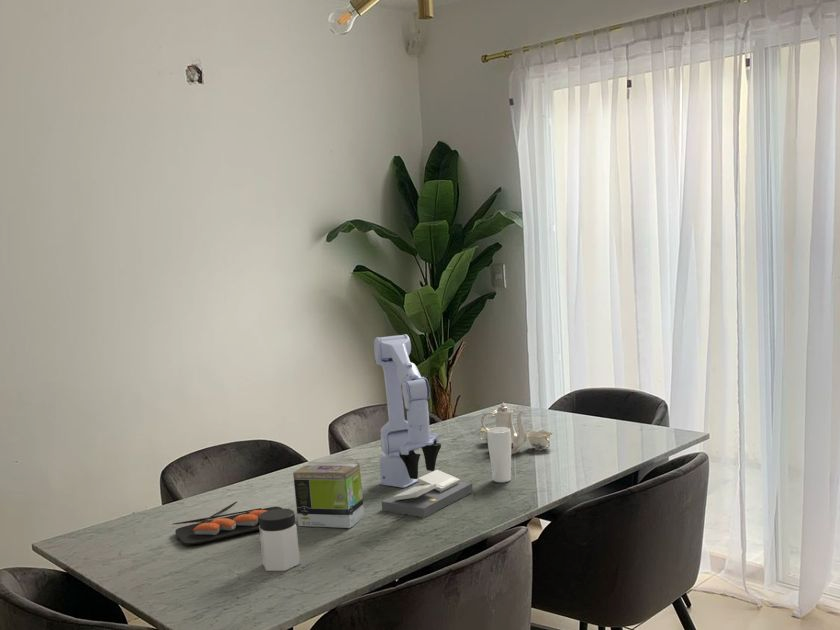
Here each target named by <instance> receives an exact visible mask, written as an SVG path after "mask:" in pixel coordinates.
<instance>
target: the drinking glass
mask: <svg viewBox="0 0 840 630" xmlns="http://www.w3.org/2000/svg"><path fill="white" fill-rule="evenodd" d="M487 436H488V442H487V447H488V452H489V461H490V467H491V472H492V473H491V474H492V480H493V481H494V482H496V483H507V482H508V483H509V482H510V481H511V480H512V470H511V469H512V454H511V431H510V429H509V428H507V427H495V428H490V429H488V431H487Z"/></svg>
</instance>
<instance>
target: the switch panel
mask: <svg viewBox="0 0 840 630" xmlns="http://www.w3.org/2000/svg"><path fill="white" fill-rule="evenodd" d="M417 486H424V484H422V483H420V482H418V483H417V484H415V485H413V486H411V487H408V488H407V489H405V490H401V491H400V492H398V493H396V494H394V495H391V496H390V497H388V498H386V499H383V500H381V510H382V511H385V512H390V513H394V514H395V513H396V514H400V513H401V515H405V514H408V515H407V516H411V515H412V516H411V517H416V516H419V517H418V518H422V517H424V518H423V519H425V518H426V516H427V517H428V516H430V514H431V515H433V514H434V513H436V512H438V511H439V509H440V510H441V508H442V509H444V508H446V507H447V505H448V506H450V505H451V504H454V503H455V502H457V501H459V500H460V498H461V499H462V498H464V497H466V496H468V495H469V493H470V494H472V493H473V491H474V490H473V488H474V487H473V482H468V481H467V482H465V481H460V483H458V484H456V485H454V486H452V487H450V488H448V489H446V490H444V491H442V492H440V491H438V490H436V489H432V490H430V491H428V492H426V493H424V494H422V495H420V496H418V497H415V498H408V499H400V500H394V496H396V495H398V494H400V493H402V492H404V491H406V490H409V489H411V488H413V487H417ZM471 492H472V493H471ZM467 494H468V495H467ZM458 499H459V500H458ZM454 501H455V502H454ZM445 506H446V507H445ZM443 507H444V508H443ZM437 510H438V511H437ZM432 513H433V514H432Z"/></svg>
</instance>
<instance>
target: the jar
mask: <svg viewBox="0 0 840 630" xmlns="http://www.w3.org/2000/svg"><path fill="white" fill-rule="evenodd" d="M295 516H296V515H295V511H294V510H292V509H290V508H283V509H273V510H269V511H266V512H263V513H262V514H260V515H259V539H260V549H261V557H262V558H261V562H262V565H263V567H264V569H265V571H266V572H286V571H288V570H290V569H292V568H294V566H295V567H297V566H299V565H300V564H301V563H300V548H299V541H298V529H297V528H298V527H297V524H296V518H295Z"/></svg>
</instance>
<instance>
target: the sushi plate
mask: <svg viewBox="0 0 840 630" xmlns="http://www.w3.org/2000/svg"><path fill="white" fill-rule="evenodd" d="M237 503H238V501H234V502H232V503H230V504H229V505H228V506H226V507H224V508H222V509H221V510H219V511H218V512H216V513H214V514H212V515H211V516H209V517H203V518H197V519H190V520H187V521H186V520H185V521H181V522H173V525H181V524H188V523H190V524H188V525H185V526H181V527H178V528H176V529H175V536H177V539H179V541H180V542H181V543H182V544H183V545H187V546H190V545H191V546H192V545H198V544H204V543H207V542H211V541H216V540H219V539H224V538H229V537H233V536H237V535H242V534H246V533H250V532H255V531H258V530H259V515H260V514H262V513H263V512H266V511H269V510H273V509H284V508H282V507H280V506H269V507H264V508H261V507H260V508H254V509H249V510H242V511H238V512H232V513H225V514H221V513H223V512H225V511H226V510H228V509H231V508H232V507H233V506H234V505H235V504H237ZM219 514H220V515H219ZM191 523H192V524H191ZM259 531H260V530H259Z"/></svg>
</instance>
